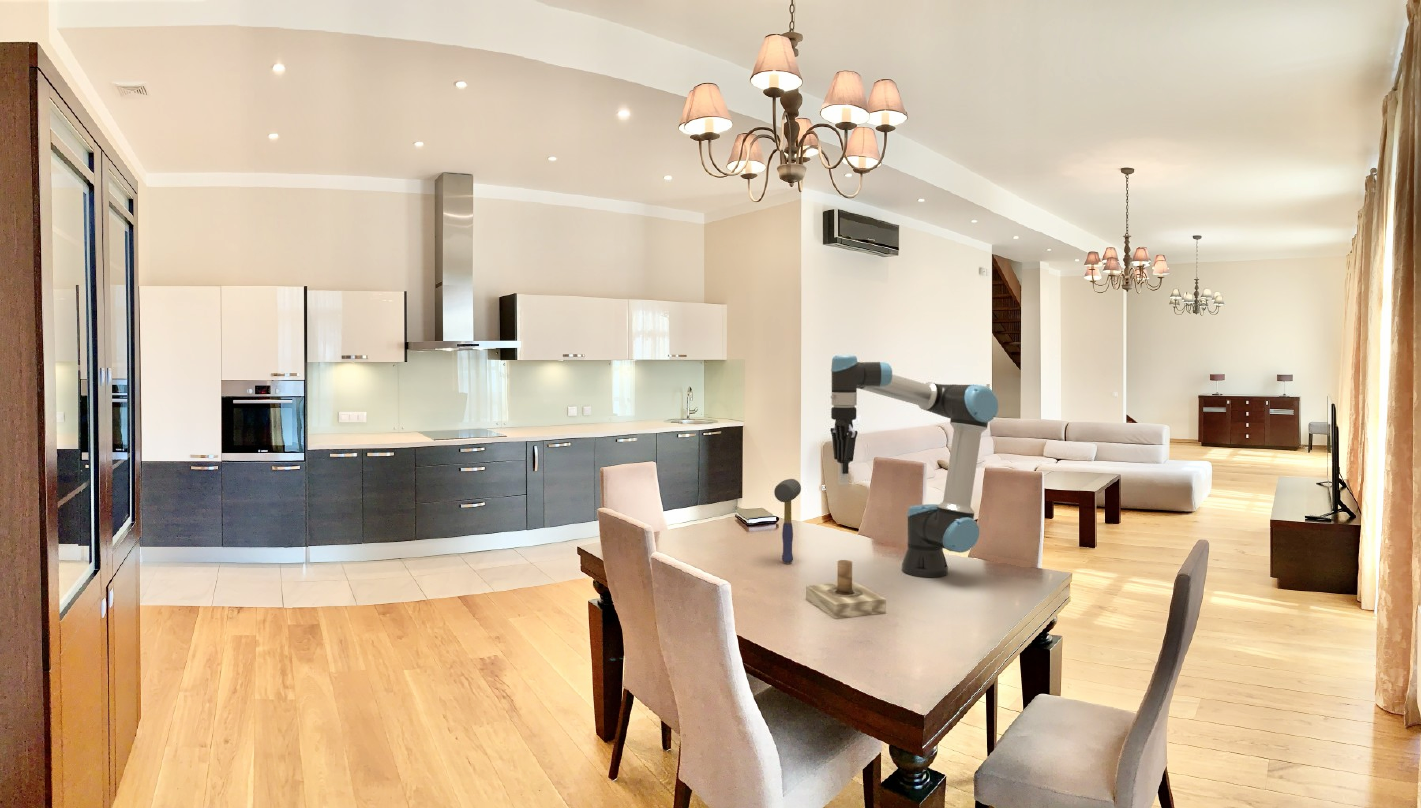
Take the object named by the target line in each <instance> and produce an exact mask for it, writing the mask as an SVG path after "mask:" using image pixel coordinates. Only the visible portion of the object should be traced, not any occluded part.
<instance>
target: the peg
mask: <svg viewBox="0 0 1421 808" xmlns="http://www.w3.org/2000/svg"><path fill="white" fill-rule="evenodd" d="M852 581H853V561H851V560H846V559H841V560H840V559H839V560H838V561H837V582H836V583H837V591H838V592H839V594H840V595H851V592H852Z"/></svg>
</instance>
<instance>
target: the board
mask: <svg viewBox="0 0 1421 808" xmlns="http://www.w3.org/2000/svg"><path fill="white" fill-rule="evenodd" d="M805 600H806V601H808V602H809V603H811V604H812V605H814V606H815V607H817V608H819V609H820V610H822V611H823V612H824V613H826V614H827V615H829V616H831V617H832V618H833V619H843V618H853V617H861V616H863V617H864V616H870V615H871V616H872V615H879V614H886V613H887V598H885V597H883V596H881V595H880V594H878V593H876V592H874V591H872V590H871V589H868V588H866V587H864V586H863V585H861V584H859V583H858V582H855V581H853V580H852V592H851V595H840V594H839V592H838V591H837V582H833V583H824V584H822V583H820V584H813V585H805Z"/></svg>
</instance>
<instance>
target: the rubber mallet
mask: <svg viewBox="0 0 1421 808" xmlns="http://www.w3.org/2000/svg"><path fill="white" fill-rule="evenodd" d="M801 491H802V486H801V483H800V482H799V481H798V480H797V479H795V478H788V479H784V480H782V481H780V482H779V483H778V484H777V485H776V486H775V488H774V491H773V495H774V497H775V498H776V500H777V501H778V502H781V503H784V504H783V505H784V508H783V509H784V511H783V512H784V513H783V515H784V516H783V517H784V519H783V525H782V533H781V537H782V538H781V539H782V556H781V560H782V562H783V563H784V564H785V565H790V564H792V563H793V561H794V554H793V540H794V529H793V524H792V523H793V522H792V501H793V500H795V499H796V498H797V497H798V496H799V495H800V494H801Z"/></svg>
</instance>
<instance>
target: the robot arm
mask: <svg viewBox="0 0 1421 808" xmlns="http://www.w3.org/2000/svg"><path fill="white" fill-rule="evenodd" d="M857 357H858V356H856V355H834V356H833V357H832V359H831V368H830V372H831V395H830V399H831V405H832V407H831V409H830V411H831V412H830V413H831V416H830V418H831V420H834V421H835V422H834V426H833V427H831V428H830V434H831V439H832V450H833V458H834V460H836V462H837V463H838V466H837V471H838V472H837V474H838V475H837V484H838V485H840V486H842V485H843V486H844V485H849V475H850V474H849V472H850V471H849V470H850V469H849V468H850V467H849V464H850V462H853V461H854V453H855V449H856V448H855V447H856V441H857V439H856V438H857V436H858V434H859V433H858V430H855V429H854V423H853V421H854V420H856V419H857V407H855V406H857V399H858V398H857V397H858V396H857V395H858V393H857V392H858V390H859V389H860V390H863V391H867V392H870V393H873V394H877V395H880V396H884V397H888V398H892V399H894V400H898V401H901V402H905V403H908V404H909V403H910V404H913V405H916V406H918V407H919V409H921V410H924V411H926V412H929V413H933V414H935V415H938V416H941V417H944V418H946V419H947V418H948V419H950V420H949V424H950V426H951V427H952V428H953V433H952V434H953V435H952V439H951V440H952V441H951V447H950V454H949V459H948V467H947V474H946V480H945V487H944V492H943V493H944V494H943V501H942V502H940V503H939V504H931V503H929V504H914V505H911V506H909V507H908V510H907V517H906V518H907V548H906V552H905V554H904V558H903V560H902V563H901V571H902V572H903V573H905V574H906V575H910V576H914V577H920V578H940V577H945V576H947V575H948V573H949V567H948V563H947V559H946V556H945V554H944V550H943V549H945V550H947V551H949V552H953V553H965V552H969V550H971V548H974V546H975V545H976V544H977V542H978V540H979V539H980V526H979V525H978V523H977V521H976V520H975V510H974V509H973V508H972V506H971V505H972V500H973V499H972V497H973V491H974V486H975V485H974V484H975V477H976V473H977V465H978V457H979V454H980V453H979V451H980V446H981V445H980V444H981V438H982V433H983V432H985V431H987V429H988V425H989V422H991V421H993V420H994V418H996V416H997V415H998V411H999V401H998V398H997V396H996V394H995V393H994V391H993V390H992V389H991V388H989V387H988V386H986V385H985V386H984V385H981V384H945V383H944V384H941V383H935V382H931V381H928V382H925V383H923V382H920V381H916V380H913V379H909V378H907V377H902V376H899V375H896V374H893V369H892V367H891V366H892V365H890V364H889V363H888V362H886V361H885V362H882V361H877V362H876V361H865V362H863V361H862V362H861V361H858V358H857Z"/></svg>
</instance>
